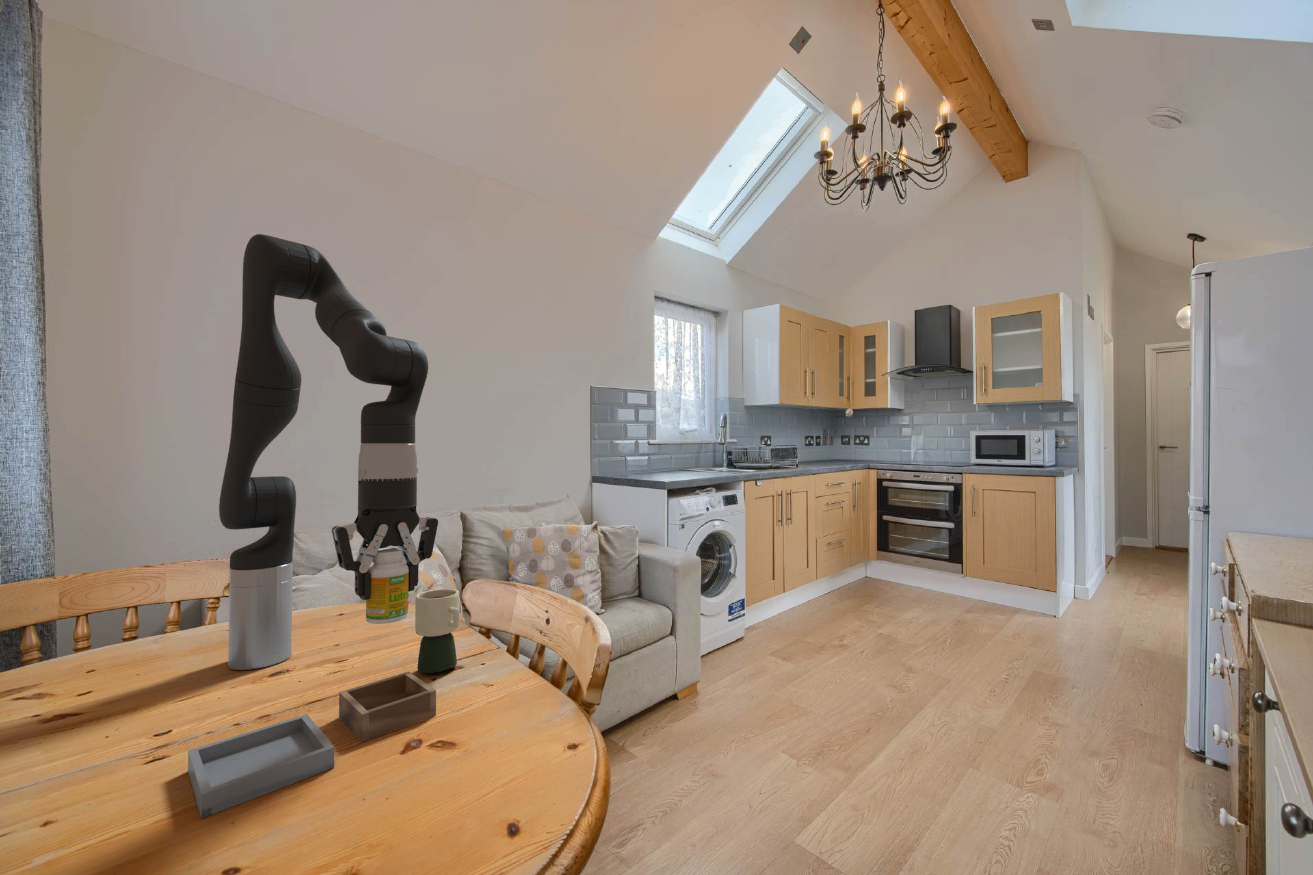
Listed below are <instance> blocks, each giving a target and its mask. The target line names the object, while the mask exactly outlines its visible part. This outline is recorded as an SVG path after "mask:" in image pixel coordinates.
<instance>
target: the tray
mask: <svg viewBox="0 0 1313 875" xmlns="http://www.w3.org/2000/svg"><path fill="white" fill-rule="evenodd" d="M325 735H326V734H324V733H323V732H322V730H321V729H320V728H319V727H318V726H317V724H316V723H315V722H314V720H313V719H312V718H311V717H310V716H309V714H308V713H305V714H302V715H299V716H295V717H292V718H289V719H285V720H283V721H279V722H277V723H273V724H269V725H266V726H262V727H259V728H257V729H254V730H251V731H250V730H249V731H247V732H243V733H240V734H238V735H234V736H231V737H227V738H225V739H222V740H217V741H214V742H211V743H207V744H205V745H202V746H198V747H195V748H191V749H189V750H187V751H188V752H187V753H188V754H187V755H188V756H187V757H188V758H187V773H188V777H189V779H190V780H189V781H190V783H191V787H192V791H193V794H194V798H195V801H196V805H197V808H198V811H199V815H200V819H204V818H207V817H209V816H211V815H214V814H217V813H220V812H223V811H225V810H228V809H230V808H232V807H235V806H239V805H240V804H241V805H242V804H243V803H245V802H248V801H252V800H253V799H257V798H259V797H262V796H264V795H267V794H270V793H272V792H274V791H277V790H280V789H282V788H283V789H284V788H285V787H288V786H290V785H293V784H295V783H299V782H300V781H301V782H302V781H304V780H306V779H309V778H311V777H313V776H316V775H319V774H321V773H322V774H323V773H325V772H327V771H330V770H331V769H332V770H333V769H334V768H335V746H334V745H333V744H332V743H331V741H330V739H328V738H327V736H325Z"/></svg>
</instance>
